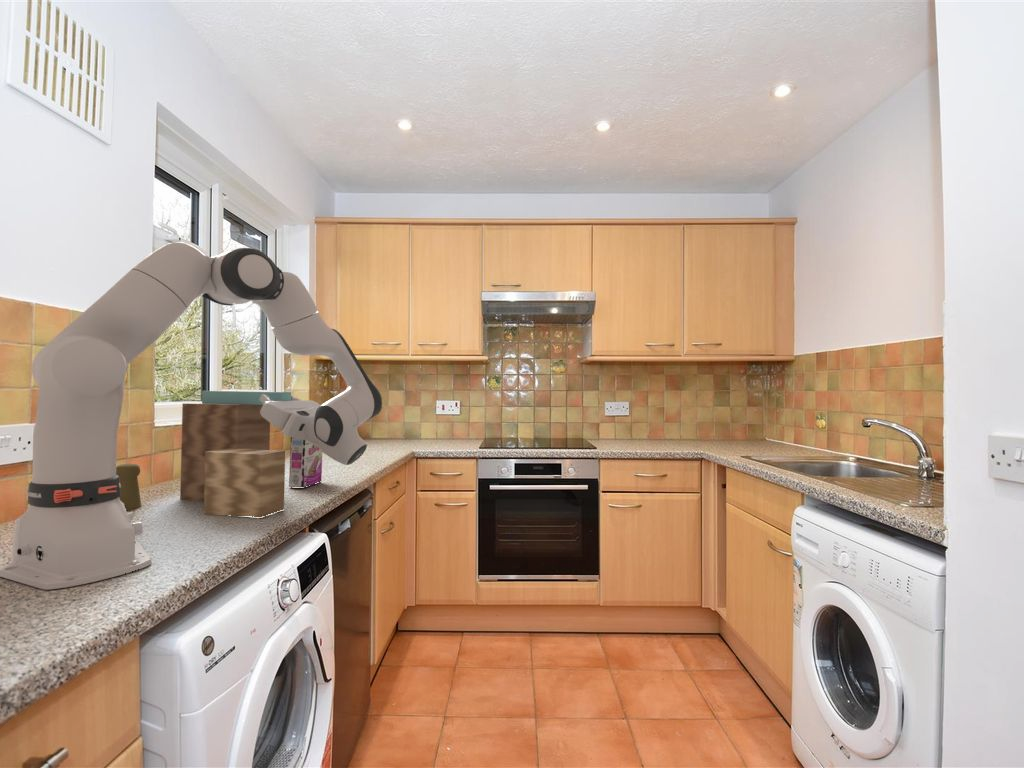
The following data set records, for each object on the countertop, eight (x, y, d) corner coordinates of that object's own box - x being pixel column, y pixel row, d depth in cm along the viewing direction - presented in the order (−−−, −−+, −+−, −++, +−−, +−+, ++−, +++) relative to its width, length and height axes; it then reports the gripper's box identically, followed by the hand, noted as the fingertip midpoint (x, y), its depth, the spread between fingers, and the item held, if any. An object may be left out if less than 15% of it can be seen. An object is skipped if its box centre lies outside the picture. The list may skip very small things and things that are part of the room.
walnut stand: (268, 494, 141) (270, 403, 142) (235, 503, 130) (238, 404, 130) (216, 490, 145) (218, 402, 146) (180, 499, 134) (182, 403, 134)
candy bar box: (303, 489, 149) (304, 435, 149) (288, 488, 150) (289, 434, 150) (322, 482, 160) (323, 432, 160) (308, 482, 161) (309, 431, 161)
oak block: (283, 511, 123) (285, 450, 123) (260, 519, 115) (261, 454, 115) (230, 506, 126) (231, 448, 127) (203, 514, 119) (205, 451, 119)
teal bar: (290, 404, 135) (291, 392, 135) (282, 405, 132) (282, 392, 132) (212, 403, 141) (212, 390, 141) (201, 403, 138) (202, 390, 138)
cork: (115, 512, 119) (116, 466, 119) (107, 508, 123) (108, 464, 123) (144, 507, 124) (146, 464, 124) (136, 504, 128) (137, 461, 128)
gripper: (340, 412, 141) (304, 387, 144) (293, 415, 121) (252, 386, 124) (330, 430, 142) (294, 405, 145) (281, 436, 122) (241, 407, 125)
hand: (274, 396), depth 134 cm, fingers open, 8 cm apart
